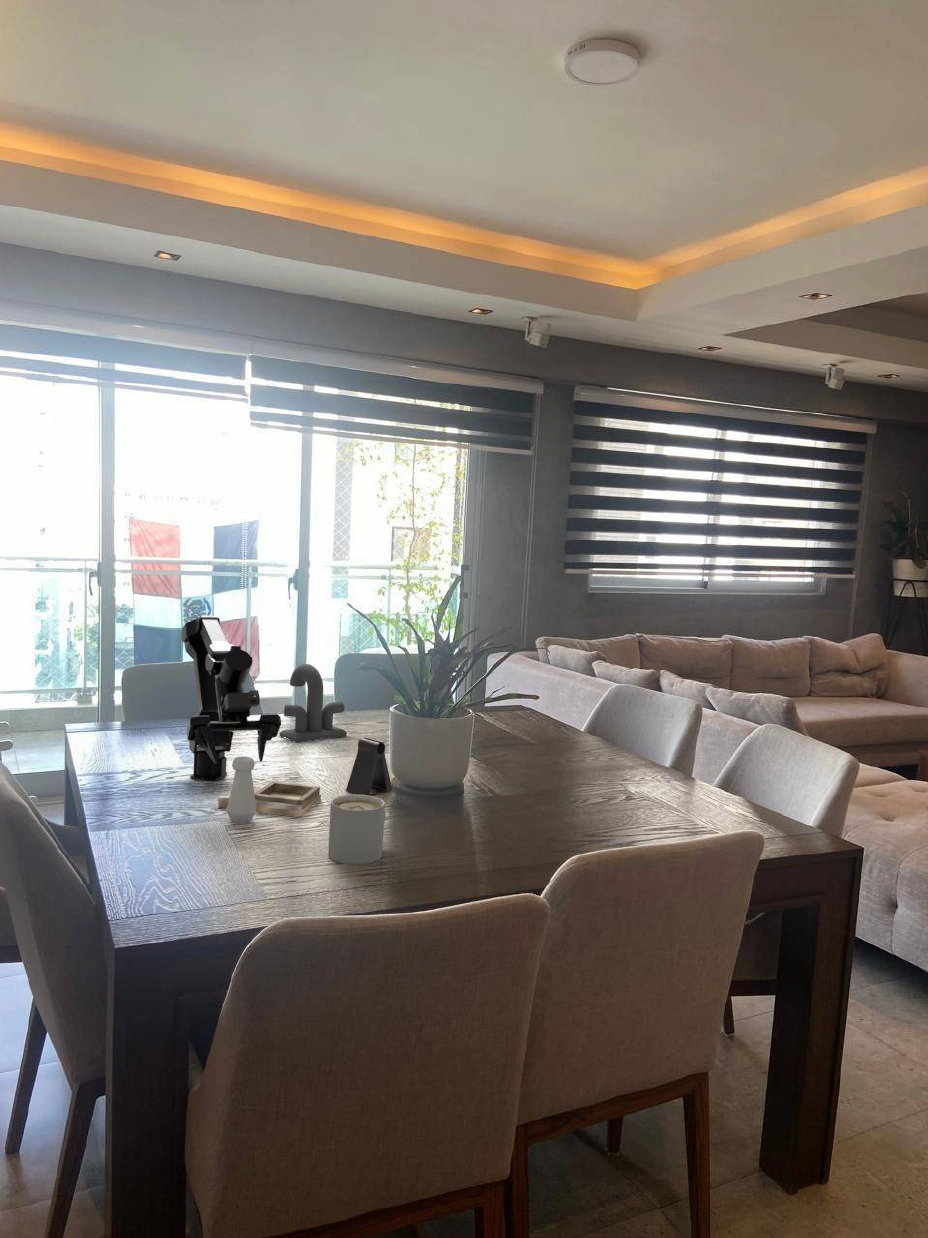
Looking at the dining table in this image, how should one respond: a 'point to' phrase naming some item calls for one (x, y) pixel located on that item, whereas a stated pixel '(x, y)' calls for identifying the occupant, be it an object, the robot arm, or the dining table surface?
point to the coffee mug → (356, 829)
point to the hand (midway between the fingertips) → (238, 761)
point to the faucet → (312, 709)
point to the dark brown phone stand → (369, 770)
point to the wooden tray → (282, 798)
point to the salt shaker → (242, 792)
